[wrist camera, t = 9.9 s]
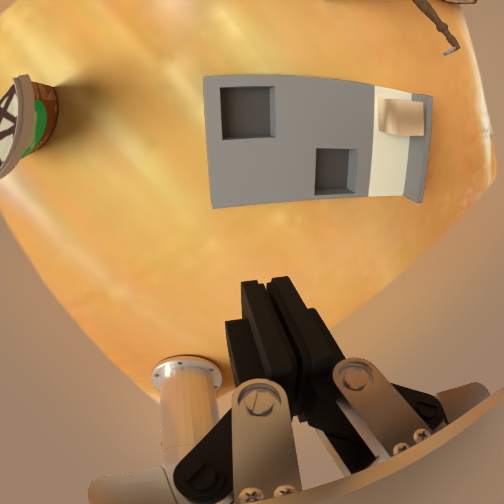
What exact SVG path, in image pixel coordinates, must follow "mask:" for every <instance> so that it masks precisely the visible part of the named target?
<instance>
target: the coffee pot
mask: <svg viewBox="0 0 504 504" xmlns="http://www.w3.org/2000/svg"><path fill="white" fill-rule="evenodd" d="M412 1H413V2H414V3H415V4H416V5H417V7H418V8H419V9H420V10H421V11H422V12H423V13H424V14H425V15H426V16H427V17H429V18H430V19H431V20H432V21H433V22H434V23H435V24H436V27H437V30H438V31H439V32H442V33H443V34H444V35H445V36H446V39H447V41H448V42H449V43H450V44H451V45H452V46H453V48H451V49H449V50H447V51H445V52H444V53H443V54H444V55H448V54H451V53H453V52H455V51H456V50H458V49H459V48H460V46H459V44H458V42H457V40H456V39H455V37H454V36H453V35H451V33H450V32H449V31H448V25H447V24H445V23H443V22H442V21H441V20H440V18H439V17H438V15H437V14H436V12H435V11H434V9H433V8H432V6H431V5H430V4H429V3H428V2H427V1H426V0H412ZM453 49H454V50H453ZM451 50H452V51H451ZM449 51H450V52H449Z"/></svg>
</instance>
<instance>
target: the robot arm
mask: <svg viewBox="0 0 504 504" xmlns="http://www.w3.org/2000/svg"><path fill="white" fill-rule="evenodd" d="M241 303H242V319H238V320H230V321H225V328H226V338H227V346H228V352H229V358H230V363H231V368H232V372H233V377H234V382H235V386H236V390H235V391H234V393H233V396H232V408H231V409H230V410H229V411H228V412H227V413H226V414H225V415H224V416H223V417H222V419H221V420H220V418H219V412H218V406H217V399H216V393H215V391H216V390H217V389H219V387H220V386H221V384H222V374H221V371H220V369H219V368H218V367H217V366H216V365H215V364H214V363H212V362H211V361H208V360H206V359H203V358H200V357H194V356H177V357H172V358H169V359H166V360H163V361H162V362H160V363H158V364H157V365H156V366H155V367H154V369H153V371H152V383H153V385H154V387H155V388H156V389H157V390H158V391H160V430H161V456H162V464H163V467H164V468H163V467H162V466H160V467H156V468H151V469H147V470H141V471H136V472H130V473H124V474H118V475H111V476H103V477H99V478H97V479H95V480H94V481H93V482H91V484H90V486H89V488H88V498H89V502H90V504H504V387H502V388H501V389H499V390H497V391H496V392H494V393H493V394H491V395H490V393H489V392H488V389H487V388H486V387H485V386H484V385H482V384H481V383H477V382H474V383H470V384H467V385H463V386H460V387H457V388H453V389H450V390H446V391H442V392H439V393H436V395H435V396H432V395H430V394H426V393H423V392H420V391H416V390H412V389H409V388H405V387H402V386H399V385H396V384H393V383H390V382H389V381H388V380H387V379H386V378H385V377H384V376H383V374H382V373H381V372H380V371H379V370H378V369H377V368H376V367H375V366H374V365H373V364H372V363H371V362H369V361H367V360H365V359H361V358H348V359H346V358H345V356H344V355H343V353H342V352H341V350H340V348H339V347H338V345H337V343H336V342H335V340H334V338H333V337H332V335H331V333H330V332H329V330H328V328H327V327H326V325H325V323H324V322H323V320H322V319H321V317H320V315H319V314H318V312H317V311H316V309H314V308H309V309H307V307H306V306H305V304H304V302H303V301H302V299H301V297H300V295H299V294H298V292H297V290H296V289H295V287H294V285H293V284H292V282H291V280H290V278H289V277H288V276H284V277H277V278H272V280H271V282H269V283H267V286H266V288H265V286H264V284H263V283H261V284H258V281H257V280H253V281H244V282H241ZM296 415H297V416H298V419H299V421H300V423H301V422H305V421H307V422H308V424H309V426H312V427H314V428H315V429H316V432H317V434H318V436H319V438H320V439H321V441H322V442H323V444H324V445H325V447H326V448H327V450H328V452H329V453H330V455H331V456H332V458H333V459H334V461H335V462H336V464H337V465H338V467H339V469H340V470H341V472H342V473H343V475H344V476H345V477H344V478H342V479H339V480H336V481H333V482H330V483H327V484H324V485H321V486H318V487H314V488H311V489H308V490H304V491H302V484H301V478H300V472H299V466H298V459H297V453H296V447H295V441H294V435H293V429H292V424H291V423H292V419H293V416H296Z"/></svg>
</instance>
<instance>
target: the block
mask: <svg viewBox="0 0 504 504" xmlns="http://www.w3.org/2000/svg"><path fill="white" fill-rule="evenodd" d="M377 112H378V131H382V132H386V133H390V134H394V135H397V136H424V112H423V102H417V101H409V100H398V99H378V98H377Z"/></svg>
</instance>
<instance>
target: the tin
mask: <svg viewBox="0 0 504 504" xmlns="http://www.w3.org/2000/svg"><path fill="white" fill-rule="evenodd" d="M443 1H446V2H450V3H455V4H475V3H476V2H477V0H443Z"/></svg>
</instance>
